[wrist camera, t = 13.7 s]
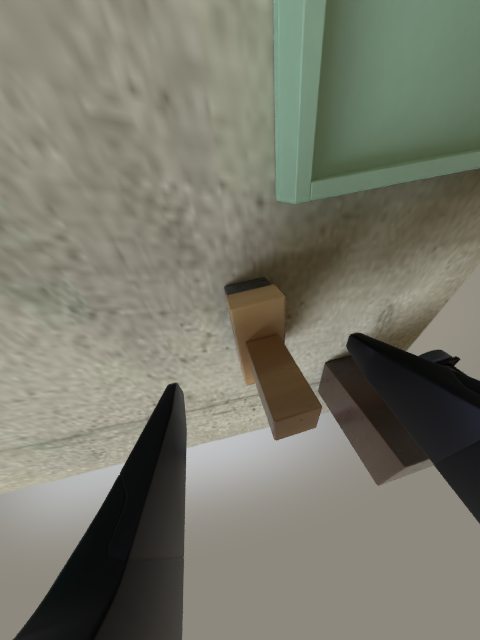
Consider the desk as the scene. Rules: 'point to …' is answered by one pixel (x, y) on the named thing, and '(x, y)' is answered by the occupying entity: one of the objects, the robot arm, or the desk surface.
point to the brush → (270, 357)
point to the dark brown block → (369, 423)
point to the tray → (373, 93)
